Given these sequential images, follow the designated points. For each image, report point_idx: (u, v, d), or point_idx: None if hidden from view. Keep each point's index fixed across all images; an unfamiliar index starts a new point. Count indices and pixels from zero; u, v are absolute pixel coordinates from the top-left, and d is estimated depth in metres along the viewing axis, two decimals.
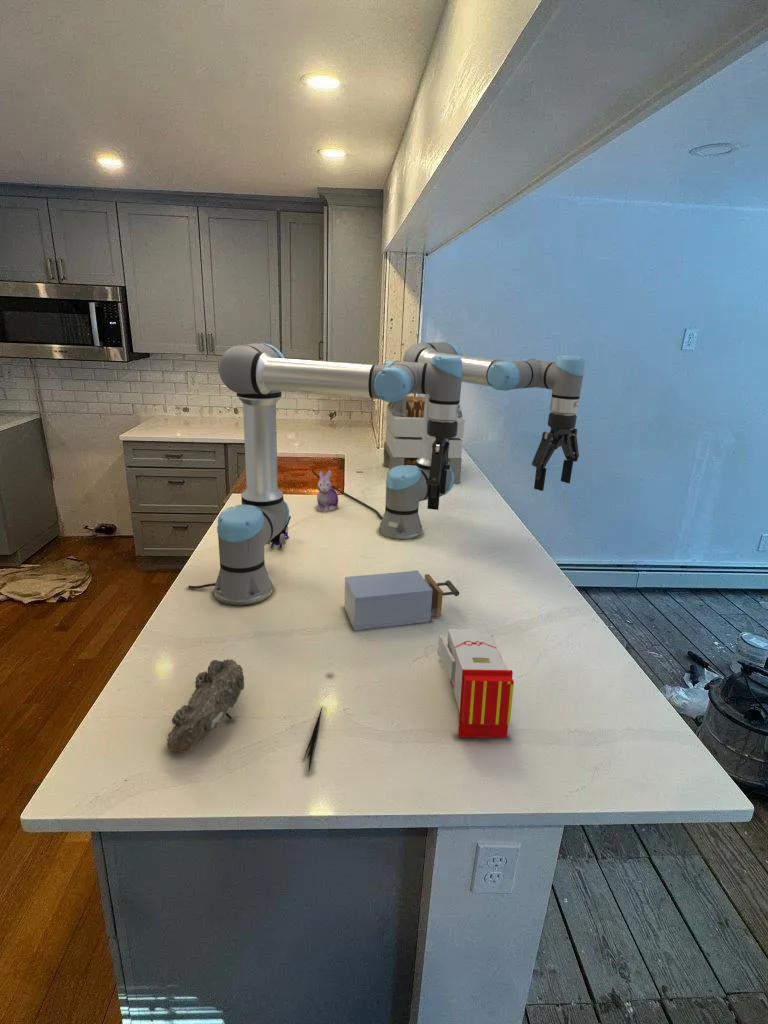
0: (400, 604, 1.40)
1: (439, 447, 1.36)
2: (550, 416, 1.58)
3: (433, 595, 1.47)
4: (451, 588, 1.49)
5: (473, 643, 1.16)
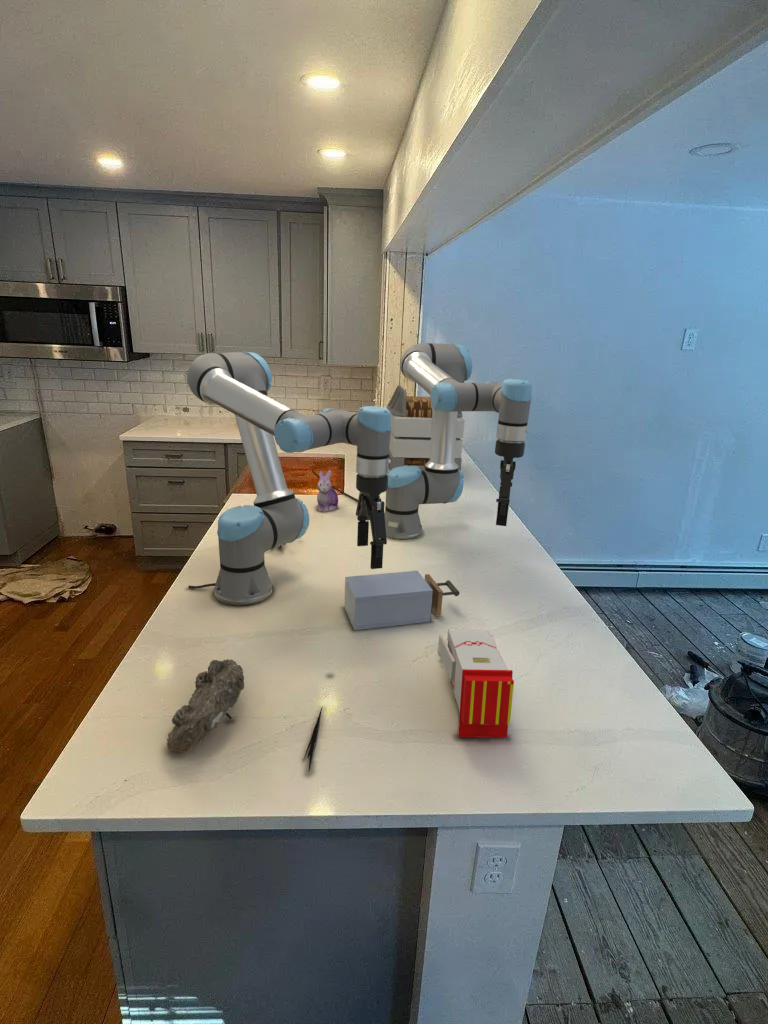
0: (400, 604, 1.40)
1: (381, 505, 1.29)
2: (503, 446, 1.46)
3: (433, 595, 1.47)
4: (451, 588, 1.49)
5: (473, 643, 1.16)
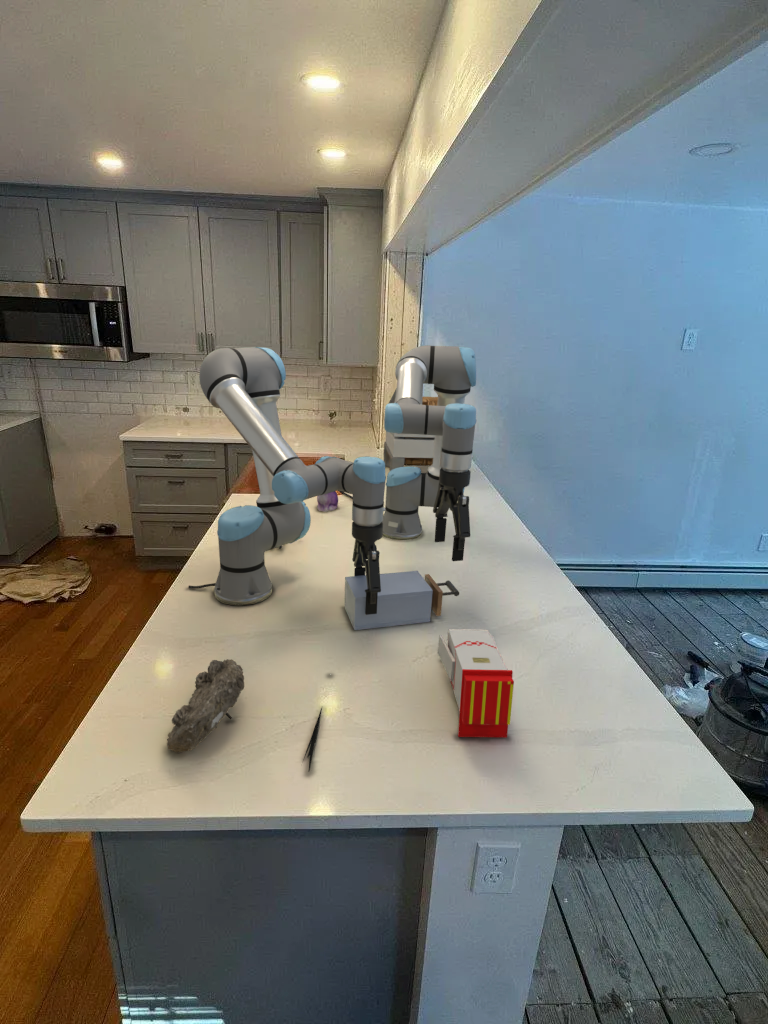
0: (400, 604, 1.40)
1: (376, 554, 1.32)
2: (453, 476, 1.35)
3: (433, 595, 1.47)
4: (451, 588, 1.49)
5: (473, 643, 1.16)
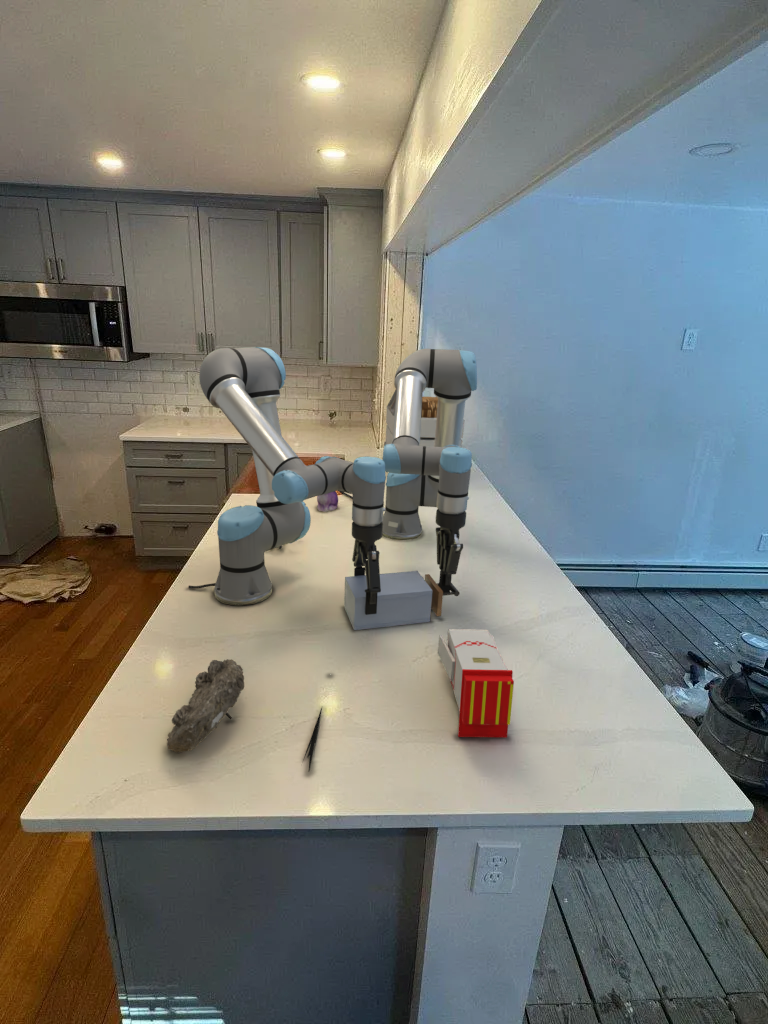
0: (400, 604, 1.40)
1: (375, 554, 1.32)
2: (449, 518, 1.39)
3: (433, 595, 1.47)
4: (451, 588, 1.49)
5: (473, 643, 1.16)
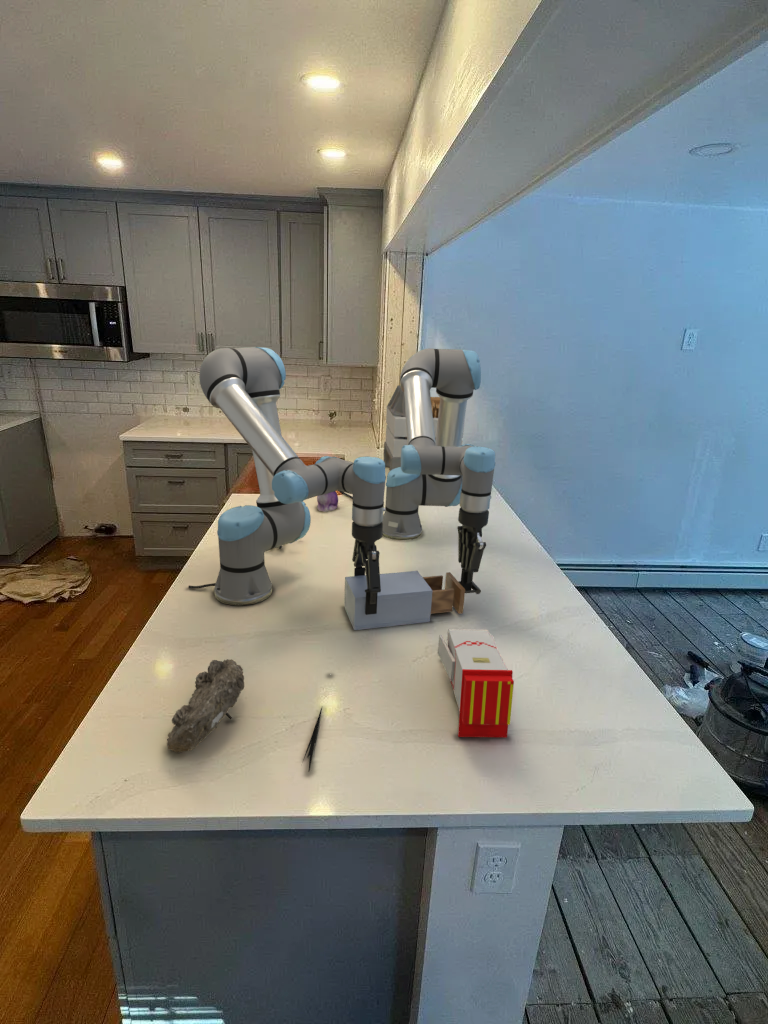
0: (400, 604, 1.40)
1: (376, 554, 1.32)
2: (472, 516, 1.40)
3: (455, 593, 1.48)
4: (472, 586, 1.50)
5: (473, 643, 1.16)
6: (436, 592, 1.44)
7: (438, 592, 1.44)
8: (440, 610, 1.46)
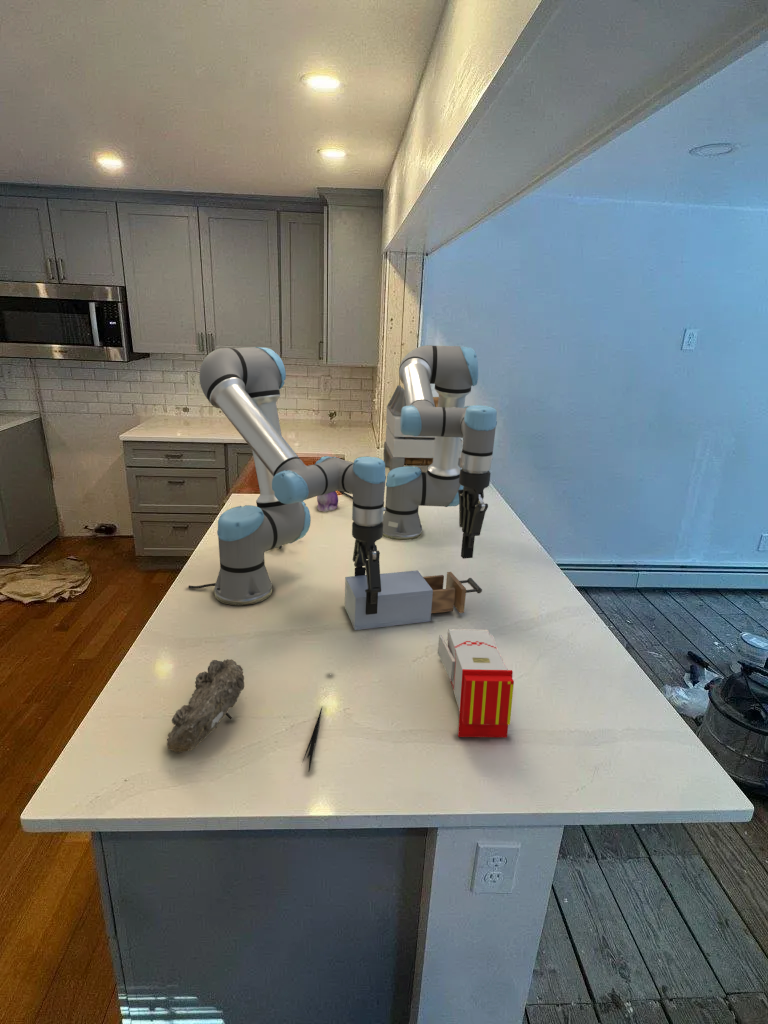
0: (400, 604, 1.40)
1: (376, 554, 1.33)
2: (474, 477, 1.37)
3: (456, 592, 1.48)
4: (473, 585, 1.51)
5: (473, 643, 1.16)
6: (437, 592, 1.44)
7: (439, 592, 1.44)
8: (441, 609, 1.46)
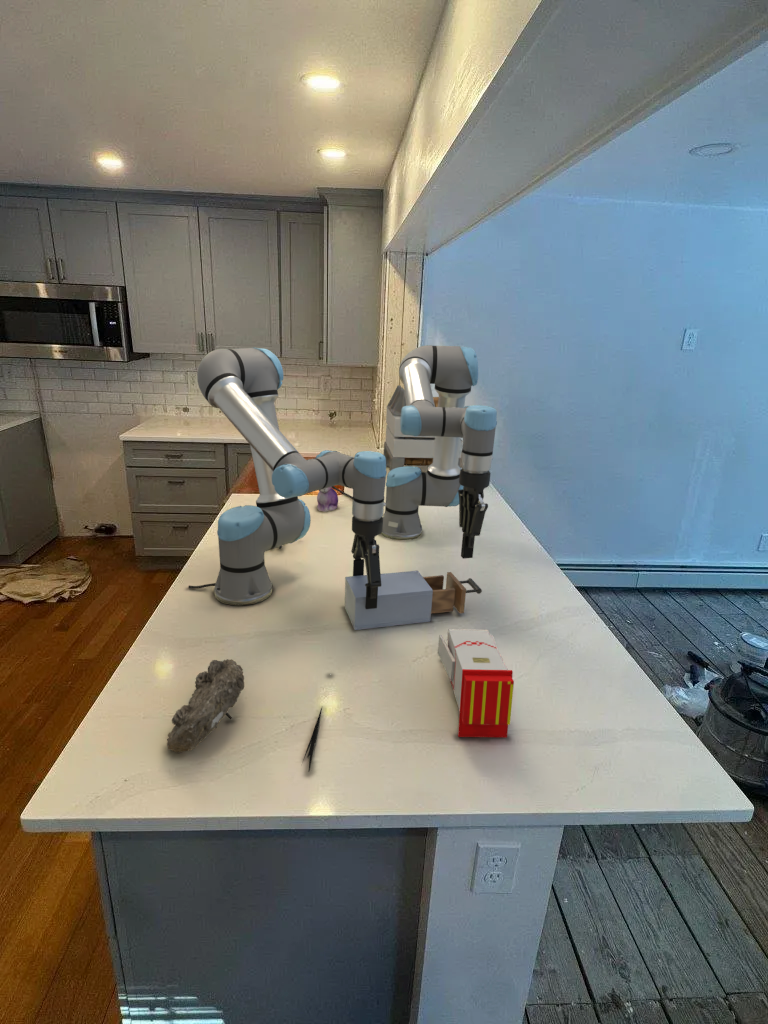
0: (400, 604, 1.40)
1: (376, 548, 1.32)
2: (474, 477, 1.37)
3: (456, 593, 1.48)
4: (473, 586, 1.51)
5: (473, 643, 1.16)
6: (437, 592, 1.44)
7: (439, 592, 1.44)
8: (441, 610, 1.46)
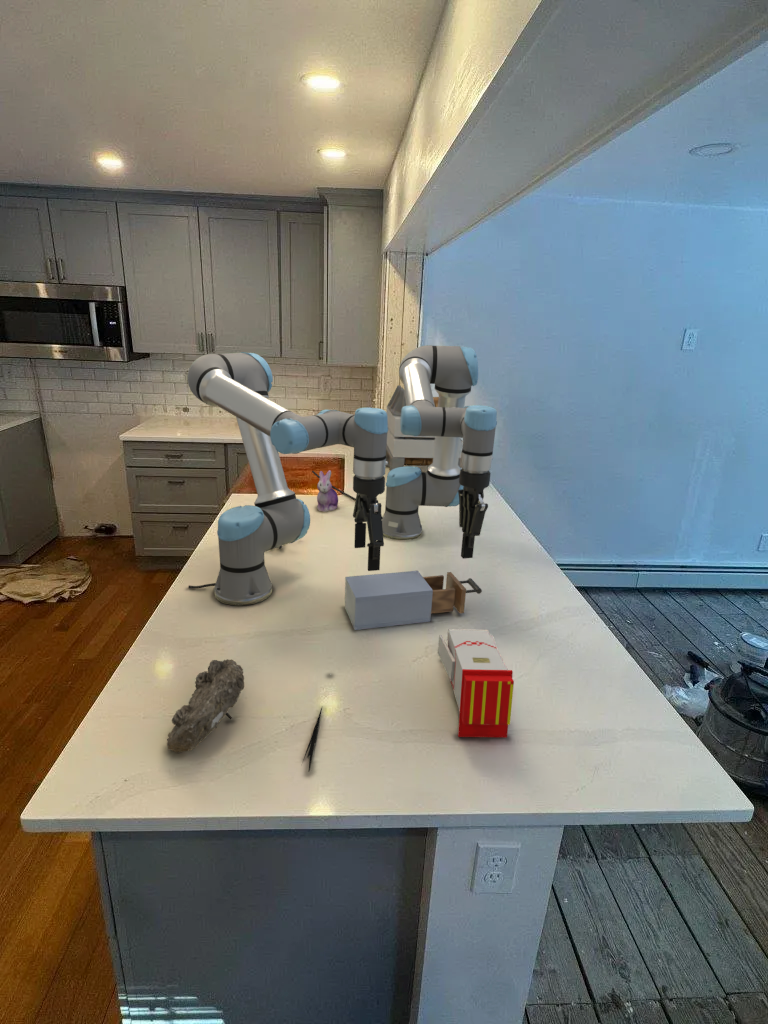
0: (400, 604, 1.40)
1: (378, 506, 1.28)
2: (474, 477, 1.37)
3: (456, 593, 1.48)
4: (473, 586, 1.51)
5: (473, 643, 1.16)
6: (437, 592, 1.44)
7: (439, 592, 1.44)
8: (441, 610, 1.46)
